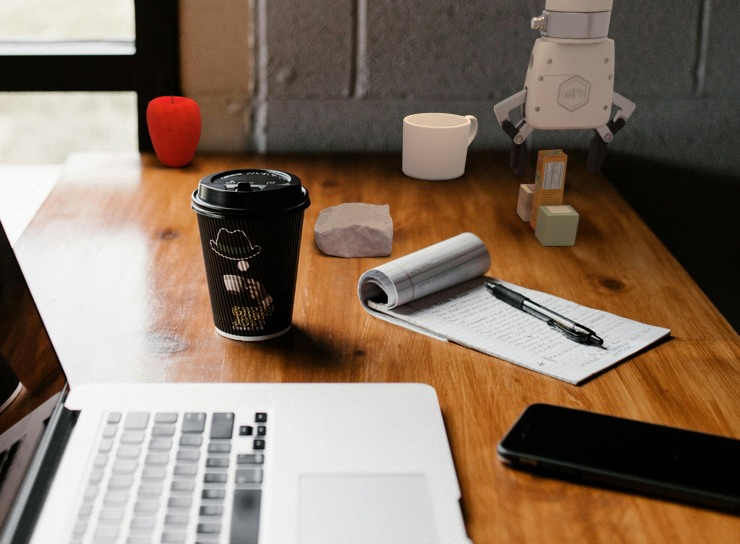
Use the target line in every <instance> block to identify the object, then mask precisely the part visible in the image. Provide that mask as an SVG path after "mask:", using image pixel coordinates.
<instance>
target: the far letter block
mask: <svg viewBox="0 0 740 544" xmlns="http://www.w3.org/2000/svg"><path fill="white" fill-rule="evenodd" d="M534 187H535V183H531V184H530V183H528V184H524V183H521V184H519V192H518V200H517V207H516V214H517V215H518V216H519V218H520V219H521V221H523V223H527V222H528V223H530V221H531V213H532V204H533V195H534Z"/></svg>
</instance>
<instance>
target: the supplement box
mask: <svg viewBox="0 0 740 544" xmlns="http://www.w3.org/2000/svg"><path fill="white" fill-rule="evenodd" d="M567 163H568V155H567V153H564V152H563V150H562V149H545V150H538V152H537V162H536V171H535V177H534V178H535V179H534V184H535V187H534V195H533V204H532V213H531V221H530V222H529V225H530V227H531V228H532V230H533V231H534V232H535V230H536V223H537V217H538V210H539V206H556V205H563V196H564V189H565V182H566V172H567Z"/></svg>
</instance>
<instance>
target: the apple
mask: <svg viewBox="0 0 740 544" xmlns="http://www.w3.org/2000/svg"><path fill="white" fill-rule="evenodd" d="M147 105H148V106H147V108H146V121H147V127H148V134H149V136H150V140H151V143H152V147H153V149H154V151H155V154H156V156H157V158H158V159H159V161H160V163H161V164H162V165H164V166H166V167H169V168H181V167H184V166H186V165H187V164H189V163H190V162H191V161H192V160H193V157H194V156H195V153H196V150H197V148H198V146H199V144H200V140H201V136H202V126H203V123H202V115H201V114H202V113H201V109H200V107H199V105H198V103H197V102H196V101H195V100H194V99H192V98H190V97H184V96H175V95H163V96H159V97H156V98H154V99H152V100H151V101H149V102H148V104H147Z"/></svg>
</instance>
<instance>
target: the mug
mask: <svg viewBox="0 0 740 544" xmlns="http://www.w3.org/2000/svg"><path fill="white" fill-rule="evenodd" d="M402 121H403V122H402V168H401V170H402V171H401V172H402V173H403V174H404V175H405V176H407V177H410V178H413V179H417V180H424V181H425V180H426V181H447V180H449V181H450V180H453V179H457V178H460V177H461V176H462V175H464V173H465V167H466V160H467V153H468V148H469V146H470V145H471V144H472V142H473V140H474V139H475V137H476V135H477V133H478V126H479V125H478V119H477V118H476V117H475V116H474V115H464V116H463V115H458V114H453V113H444V112H443V113H441V112H427V113H426V112H425V113H414V114H410V115H407V116H405V117H404V118H403V120H402Z"/></svg>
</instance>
